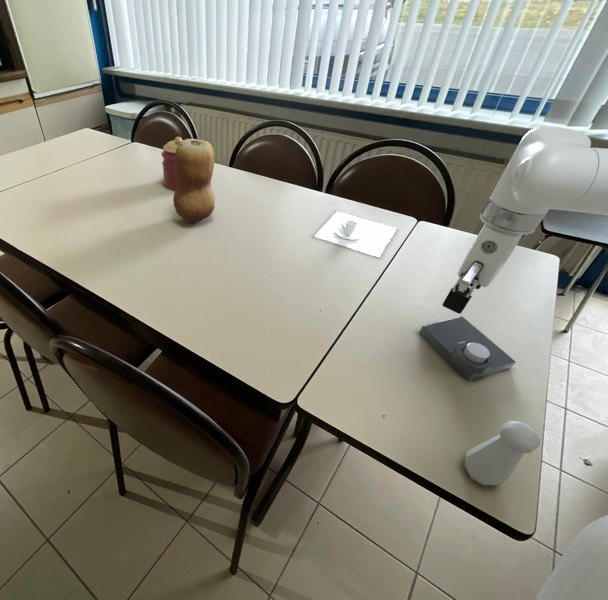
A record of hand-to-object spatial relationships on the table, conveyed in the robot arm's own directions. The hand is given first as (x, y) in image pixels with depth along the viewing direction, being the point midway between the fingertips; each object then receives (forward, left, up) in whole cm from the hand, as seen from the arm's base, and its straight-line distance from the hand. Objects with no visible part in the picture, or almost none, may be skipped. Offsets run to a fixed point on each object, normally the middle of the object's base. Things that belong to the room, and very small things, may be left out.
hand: (461, 296), depth 68 cm
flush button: (-6, -5, -12) cm, 14 cm away
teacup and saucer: (+47, -14, -16) cm, 52 cm away
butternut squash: (+70, +33, -16) cm, 79 cm away
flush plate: (-2, -8, -16) cm, 18 cm away
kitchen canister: (+98, +31, -16) cm, 104 cm away
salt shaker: (-24, +10, -16) cm, 30 cm away
